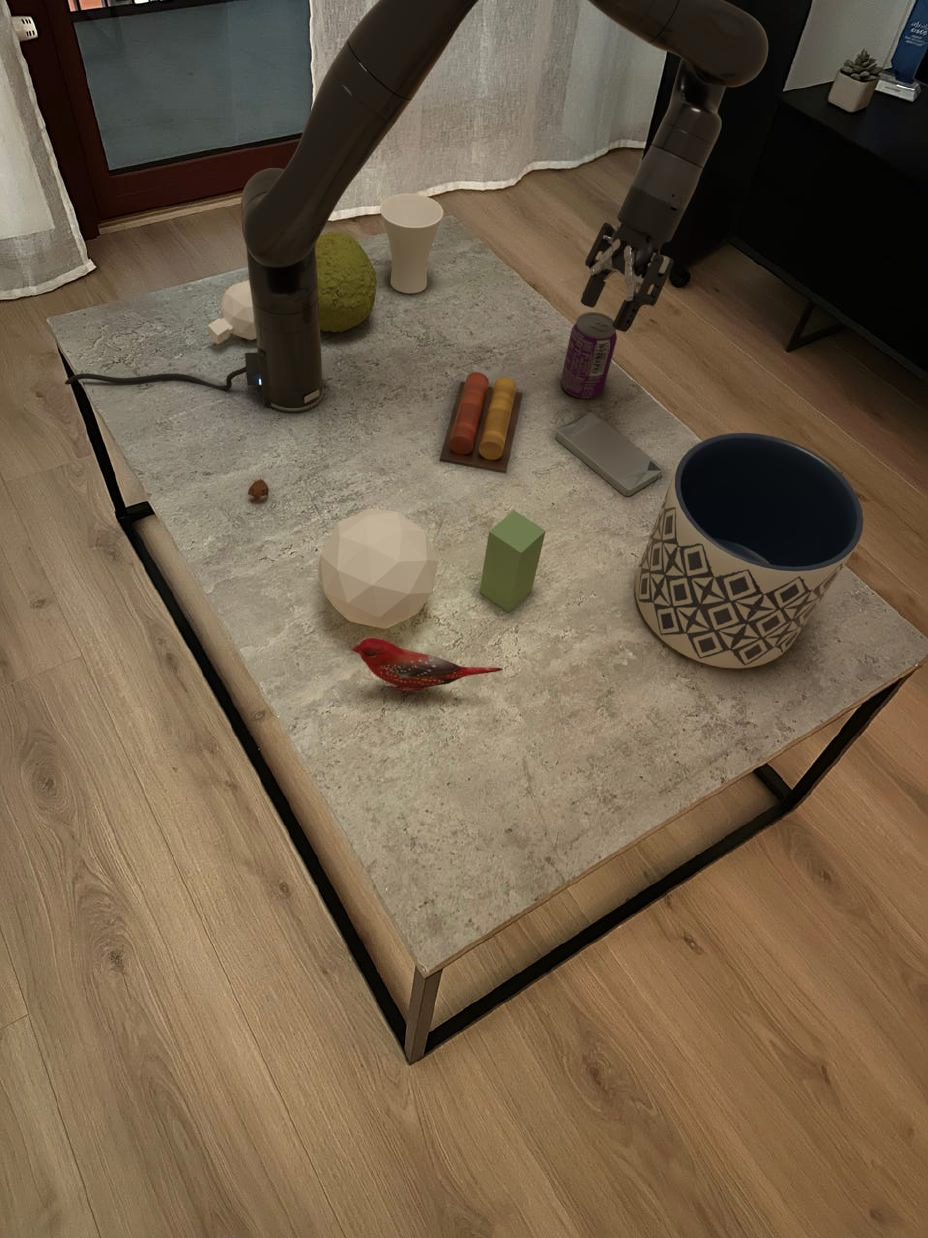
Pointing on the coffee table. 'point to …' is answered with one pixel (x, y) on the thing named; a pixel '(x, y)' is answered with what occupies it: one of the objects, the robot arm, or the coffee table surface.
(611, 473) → the phone
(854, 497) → the planter
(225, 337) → the perfume bottle
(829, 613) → the coffee table surface
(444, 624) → the coffee table surface
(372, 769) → the coffee table surface
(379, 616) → the geometric sphere
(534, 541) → the green bar
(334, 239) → the fruit
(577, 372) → the beverage can
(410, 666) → the decorative bird figurine
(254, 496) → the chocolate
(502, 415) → the rod rack
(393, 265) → the cup
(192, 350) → the coffee table surface
